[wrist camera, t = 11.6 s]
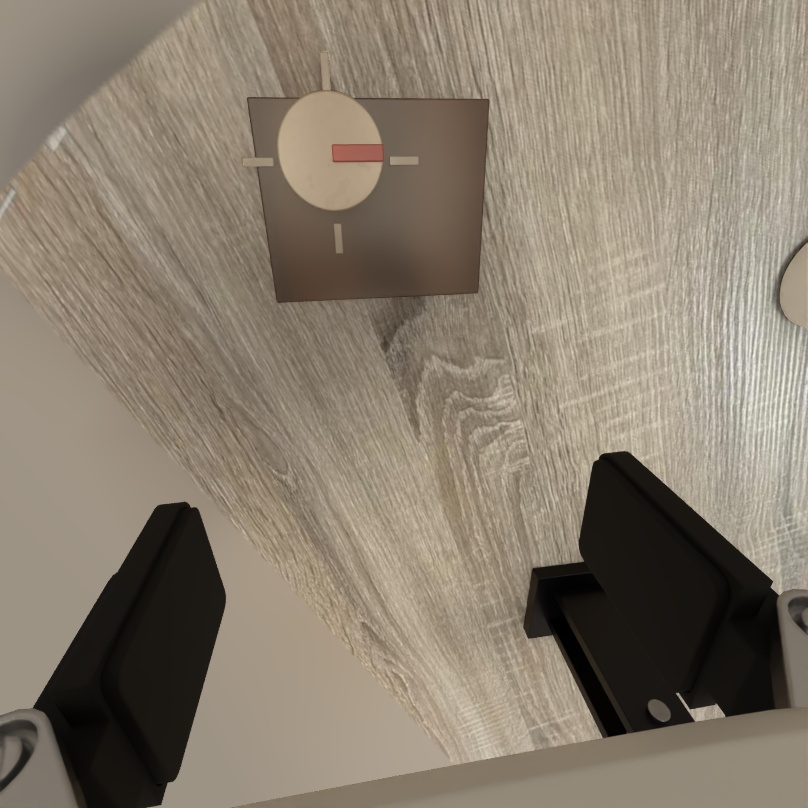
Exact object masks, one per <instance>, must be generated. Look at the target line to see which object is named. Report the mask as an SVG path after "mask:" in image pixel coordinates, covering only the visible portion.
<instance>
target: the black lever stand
mask: <svg viewBox="0 0 808 808" xmlns="http://www.w3.org/2000/svg"><path fill="white" fill-rule="evenodd" d="M524 630H525V632H526V635H527V637H528V639H530V638H537V637H543V636H550V635H553V636H554V639H555V641H556V643H557V645H558V647H559V649H560V651H561V653H562V655H563V657H564V659H565V661H566V663H567V665H568V667H569V669H570V671H571V673H572V675H573V677H574V679H575V682H576V684H577V686H578V688H579V690H580V692H581V694H582V696H583V698H584V700H585V702H586V704H587V706H588V708H589V710H590V712H591V714H592V716H593V718H594V720H595V722H596V724H597V727H598V729H599V731H600V733H601V735H602V737H603V738H607V737H613V736H618V735H624V734H627V733H628V734H630V733H635V732H641V731H647V730H652V729H658V728H663V727H669V726H675V725H680V724H686V723H691V722H695V721H694V719H693V718H692V716H691V715H690V713H689V712H688V711H687V709H686V708H685V706H684V705H683V703H682V702H681V700H680V699H679V697H678V696H677V694H676V693H675V692H673V691H672V690H671V689H670V688H669V687H668V686H667V684H666V683H665V681H664V680H663V678H662V677H661V675H660V674H659V672H658V671H657V669H656V668H655V666H654V665H653V663H652V662H651V660H650V659H649V657H648V656H647V654H646V653H645V651H644V650H643V648H642V647H641V645H640V644H639V642H638V641H637V639H636V638H635V636H634V635H633V633H632V632H631V630H630V629H629V627H628V626H627V624H626V623H625V621H624V620H623V618H622V617H621V615H620V614H619V612H618V611H617V609H616V608H615V606H614V605H613V603H612V602H611V600H610V599H609V597H608V596H607V594H606V593H605V591H604V590H603V588H602V587H601V585H600V584H599V582H598V581H597V579H596V578H595V576H594V575H593V573H592V571H591V570H590V568H589V567H588V565H587V564H586V562H584V563H576V564H568V565H560V566H552V567H544V568H536V569H533V572H532V578H531V584H530V591H529V597H528V603H527V610H526V616H525V622H524Z"/></svg>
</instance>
